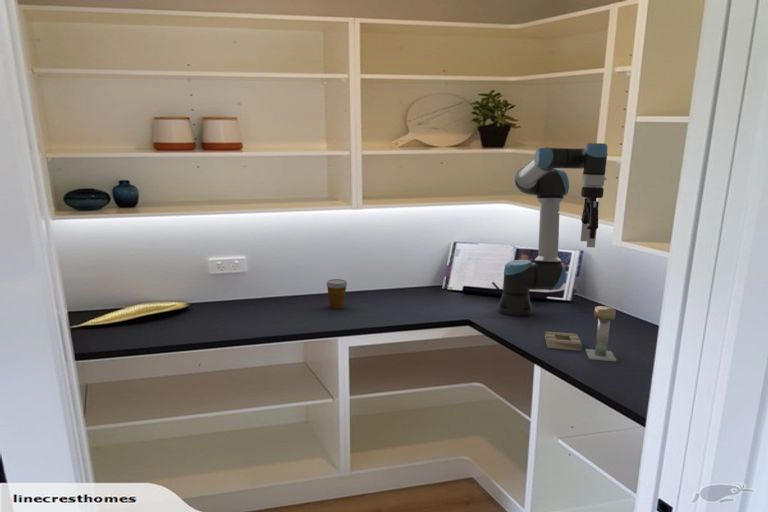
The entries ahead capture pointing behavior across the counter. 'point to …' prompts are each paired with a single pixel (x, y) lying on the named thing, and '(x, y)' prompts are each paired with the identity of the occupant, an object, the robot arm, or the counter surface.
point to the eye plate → (563, 341)
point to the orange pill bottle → (336, 292)
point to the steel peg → (603, 328)
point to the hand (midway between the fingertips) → (587, 244)
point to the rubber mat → (592, 356)
